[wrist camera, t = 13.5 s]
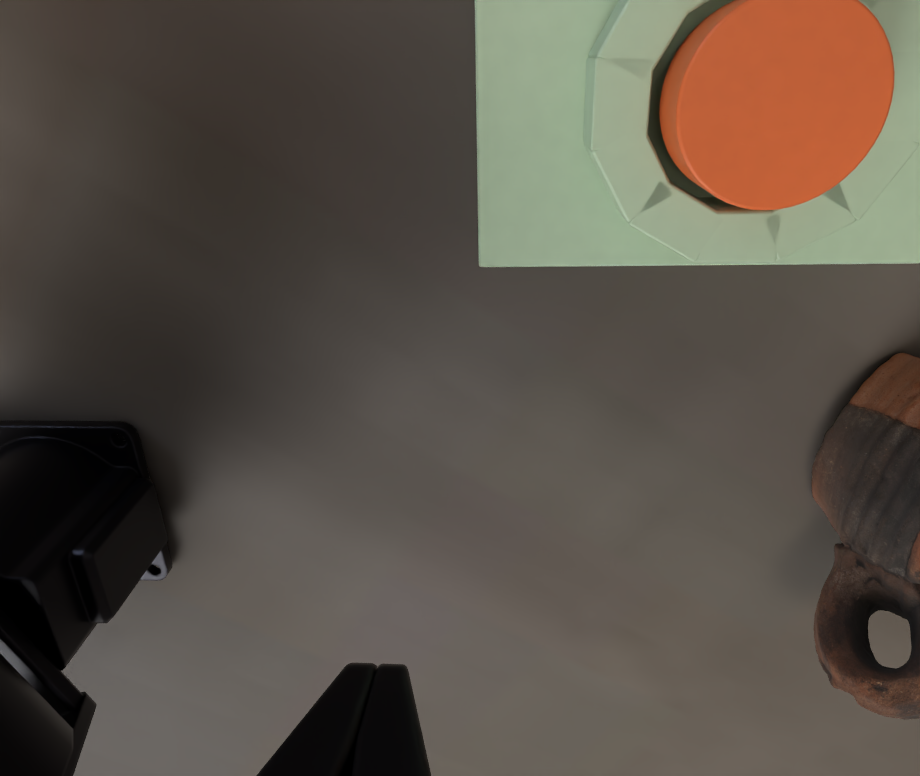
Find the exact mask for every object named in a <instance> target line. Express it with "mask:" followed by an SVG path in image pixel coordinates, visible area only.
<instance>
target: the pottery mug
mask: <svg viewBox="0 0 920 776" xmlns="http://www.w3.org/2000/svg"><path fill="white" fill-rule="evenodd" d="M812 476H813V477H812V494H813V498H814V499H815V501H816V502H817V503H818V504H819V506H820V507H821V508H822V510H823V511H824V513H825V514H826V516H827V517H828V519H829V521H830V523H831V525H832V526H833V528H834V530H835V531H836V532H837V533H838V534H839V536H840V539H841V541H842V543H841V544H839V543H837V544H835V546H834V552H835V562H834V566H833V568H832V570H831V572H830V574H829V576H828V578H827V580H826V582H825V584H824V586H823V589H822V591H821V595H820V598H819V601H818V604H817V608H816V612H815V618H814V638H815V644H816V651H817V654H818V657H819V661H820V663H821V666H822V668H823V670H824V671H825V672H826V673H827V675H828V678H829V681H830V683H831V685H832V686H833V687H834V688H837V689H840V690H843V691H845V692H848V693H850V694H851V695H853V696H854V698H855V700H856V701H857V703H858V704H859V705H860V706H862V707H864V708H866V709H868V710H870V711H872V712H874V713H877V714H879V715H883V716H886V717H891V718H901V719H919V718H920V358H918V357H914V356H911V355H909V354H906V353H898V354H896V355H894V356H892V357H891V358H890V359H889V360H888V361H887V362H885V363H884V364H882V365H881V366H880V367H878V368H877V369H876V370H875V372H874V373H873V374H872V375H871V376H870V377H869V378H868V379H867V380H866V381H864V383H863V384H862V385H861V387H860V388H859V390H858V391H857V392H856V394H855V395H854V396H853V397H852V398H851V400H850V402H849V404H848V405H846V406H845V407H844V408H843V410H842V411H841V413H840V415H839V416H838V418H837V419H836V421H835V423H834V425H833V426H832V427H831V428H830V429H829V430H828V431H827V432H826V434H825V437H824V440H823V444H822V446H821V447H820V449H819V451H818V453H817V454H816V458H815V462H814V464H813V469H812ZM877 610H884V611H890V612H892V613H894V614H896V615H899V616H901V617H902V618H905V619H907V620H908V621H909V624H910V631H911V645H912V650H911V655H910V658H909V660H908V661H907V663H906V664H904V665H903V666H901V667H900V668H897V669H895V668H888V667H884V666H882V665H880V664H879V663H878V662H877V661H876V659H875V657H874V655H873V653H872V651H871V648H870V643H869V639H868V620H869V617H870V616H871V615H872V614H873V613H874V612H876V611H877Z"/></svg>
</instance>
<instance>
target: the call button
mask: <svg viewBox="0 0 920 776" xmlns="http://www.w3.org/2000/svg"><path fill="white" fill-rule="evenodd" d="M894 73H895V72H894V62H893V55H892V51H891V47H890V43H889V41H888V39H887V36H886V34H885V31H884V29H883V28H882V26H881V24H880V23H879V21H878V19H877V18H876V17H875V16H874V14H873V13H872V12H871V11H870V10H869V9H868V8H867V7H866V6H865V5H864V4H863V3H861V2H860V1H859V0H734V1H732V2H730V3H728V4H726V5H724V6H722V7H721V8H719V9H717V10H716V11H715V12H713V13H712V14H710V15H709V16H708V17H706V18H705V19H704V20H703V21H702V22H701V23H700V24H698V25H697V26H696V27H695V28H694V30H693V31H692V32H691V33H690V34H689V35H688V36H687V37H686V39H685V40H684V42H683V43H682V44H681V46H680V47H679V49H678V50H677V52H676V54H675V56H674V58H673V59H672V61H671V63H670V66H669V68H668V71H667V73H666V76H665V79H664V83H663V86H662V91H661V97H660V109H659V118H660V128H661V132H662V137H663V141H664V143H665V146H666V148H667V151H668V153H669V155H670V157H671V158H672V160H673V162H674V163H675V164H676V166H677V167H678V168H679V170H680V171H681V172H682V173H683V174H684V175H685V176H686V177H687V178H688V179H690V180H691V181H693V182H694V183H695V184H697V185H698V186H700V187H701V188H703V189H704V190H706V191H707V192H709V193H710V194H712V195H713V196H715V197H716V198H718V199H720V200H722V201H724V202H726V203H728V204H731V205H734V206H737V207H740V208H745V209H751V210H778V209H783V208H788V207H793V206H796V205H799V204H802V203H805V202H807V201H809V200H812V199H814V198H816V197H818V196H820V195H822V194H823V193H825V192H827V191H828V190H830V189H832V188H833V187H834V186H836V185H837V184H838V183H840V182H841V181H842V180H843V179H845V178H846V177H847V176H848V175H849V174H850V173H851V172H852V171H853V170H854V169H855V168H856V167H857V166H858V165H859V164H860V163H861V161H862V160H863V159H864V158H865V157H866V155H867V154H868V152H869V151H870V149H871V148H872V147H873V145H874V144H875V142H876V140H877V138H878V136H879V134H880V133H881V131H882V128H883V126H884V124H885V121H886V119H887V116H888V113H889V109H890V106H891V102H892V96H893V90H894Z"/></svg>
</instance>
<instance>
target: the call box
mask: <svg viewBox="0 0 920 776" xmlns="http://www.w3.org/2000/svg"><path fill="white" fill-rule="evenodd" d="M732 1H734V0H475V51H476V116H477V181H478V246H479V266H481V267H551V266H670V265H788V264H907V263H920V0H859V1H860V2H861V3H863V4H864V5H865V6H866V7H867V8H868V9H869V10H870V11H871V12H872V13H873V14H874V16H875V17H876V18H877V19H878V21H879V23H880V24H881V26H882V28H883V29H884V31H885V34H886V36H887V39H888V41H889V43H890V47H891V51H892V55H893V62H894V72H895V73H894V90H893V96H892V102H891V106H890V109H889V113H888V116H887V119H886V121H885V124H884V126H883V128H882V131H881V133H880V134H879V136H878V138H877V140H876V142H875V144H874V145H873V147H872V148H871V149H870V151H869V152H868V154H867V155H866V157H865V158H864V159H863V160H862V161H861V163H860V164H859V165H858V166H857V167H856V168H855V169H854V170H853V171H852V172H851V173H850V174H849V175H848V176H847V177H846V178H845V179H843V180H842V181H841V182H840V183H838V184H837V185H836V186H834V187H833V188H832V189H830V190H828V191H827V192H825V193H823V194H822V195H820V196H818V197H816V198H814V199H812V200H809V201H807V202H805V203H802V204H799V205H796V206H793V207H788V208H783V209H778V210H751V209H745V208H740V207H737V206H734V205H731V204H728V203H726V202H724V201H722V200H720V199H718V198H716V197H715V196H713V195H712V194H710V193H709V192H707V191H706V190H704V189H703V188H701V187H700V186H698V185H697V184H695V183H694V182H693V181H691V180H690V179H688V178H687V177H686V176H685V175H684V174H683V173H682V172H681V171H680V170H679V168H678V167H677V166H676V164H675V163H674V162H673V160H672V158H671V157H670V155H669V153H668V151H667V148H666V146H665V143H664V141H663V137H662V132H661V128H660V118H659V109H660V97H661V91H662V86H663V83H664V79H665V76H666V73H667V71H668V68H669V66H670V63H671V61H672V59H673V58H674V56H675V54H676V52H677V50H678V49H679V47H680V46H681V44H682V43H683V42H684V40H685V39H686V37H687V36H688V35H689V34H690V33H691V32H692V31H693V30H694V28H695V27H696V26H697V25H698V24H700V23H701V22H702V21H703V20H704V19H705V18H706V17H708V16H709V15H710V14H712V13H713V12H715V11H716V10H717V9H719V8H721V7H722V6H724V5H726V4H728V3H730V2H732Z"/></svg>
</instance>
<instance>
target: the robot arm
mask: <svg viewBox="0 0 920 776" xmlns="http://www.w3.org/2000/svg"><path fill="white" fill-rule="evenodd" d="M117 434H120V435H122V436H123V437H124V438H125V440H126V441H123V440H121V439H120V438H119V437H118V435H117ZM167 541H168V537H167V533H166V529H165V525H164V521H163V517H162V513H161V510H160V506H159V502H158V498H157V494H156V490H155V486H154V484H153V483H152V481H151V480H150V477H149V473H148V469H147V465H146V461H145V457H144V454H143V450H142V446H141V442H140V438H139V434H138V432H137V430H136V429H135V428H134V427H133V426H132V425H130V424H128V423H126V422H109V421H0V776H73V774H74V771H75V768H76V765H77V762H78V759H79V756H80V753H81V750H82V747H83V744H84V741H85V738H86V735H87V732H88V729H89V726H90V723H91V720H92V718H93V715H94V712H95V709H96V703H95V702H94V701H93V700H92V699H91V698H90V697H89V696H88V694H87V693H86V692H80V691H79V690H78V689H77V688H76V687H75V686H74V685H73V684H72V682H71V681H70V680H69V679H68V678H67V677H66V676H65V675H64V674H63V673H62V672H61V670H63V669H64V668H65V667H66V665H67V664H68V663H69V661H70V660H71V659H72V657H73V656H74V655H75V653H76V652H77V650H78V649H79V648H80V646H81V645H82V644H83V642H84V641H85V640H86V638H87V637H88V636H89V634H90V633H91V631H92V630H93V629H94V627H95V626H96V625H97V623H107V622H108V621H110V620H111V619H112V618H113V616H114V615H115V614H116V613H117V611H118V610H119V608H120V607H121V606H122V604H123V603H124V601H125V600H126V599H127V597H128V596H129V594H130V593H131V592H132V590H133V589H134V587H135V586H136V585H137V583H138V582H139V580H156V581H157V580H162V579H164V578H165V577H166V576H167V574H168V573H169V571H170V570H171V568H172V561H171V557H170V554H169V550H168V546H167ZM154 565H157V566H158V567H159V568H157V567H156V566H154ZM257 776H431V772H430V768H429V763H428V759H427V754H426V750H425V745H424V741H423V736H422V731H421V727H420V722H419V718H418V713H417V709H416V704H415V700H414V695H413V691H412V686H411V681H410V677H409V672H408V669H407V667H406V666H405V665H403V664H381V665H379V666H378V668H377V666H376V665H375V664H373V663H350V664H348V665H346V666H345V667H344V669H343V670H342V671H341V672H340V674H339V675H338V676H337V677H336V678H335V680H334V681H333V682H332V683H331V685H330V686H329V687H328V688H327V690H326V691H325V692H324V693H323V694H322V696H321V697H320V698H319V699H318V701H317V702H316V703H315V704H314V706H313V707H312V708H311V709H310V710H309V712H308V713H307V714H306V715H305V717H304V718H303V719H302V720H301V722H300V723H299V724H298V725H297V726H296V728H295V729H294V730H293V731H292V733H291V734H290V735H289V736H288V738H287V739H286V740H285V741H284V743H283V744H282V745H281V746H280V747H279V749H278V750H277V751H276V752H275V754H274V755H273V756H272V757H271V759H270V760H269V761H268V762H267V763H266V765H265V766H264V767H263V768H262V770H261V771H260V772H259V773H258V775H257Z"/></svg>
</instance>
